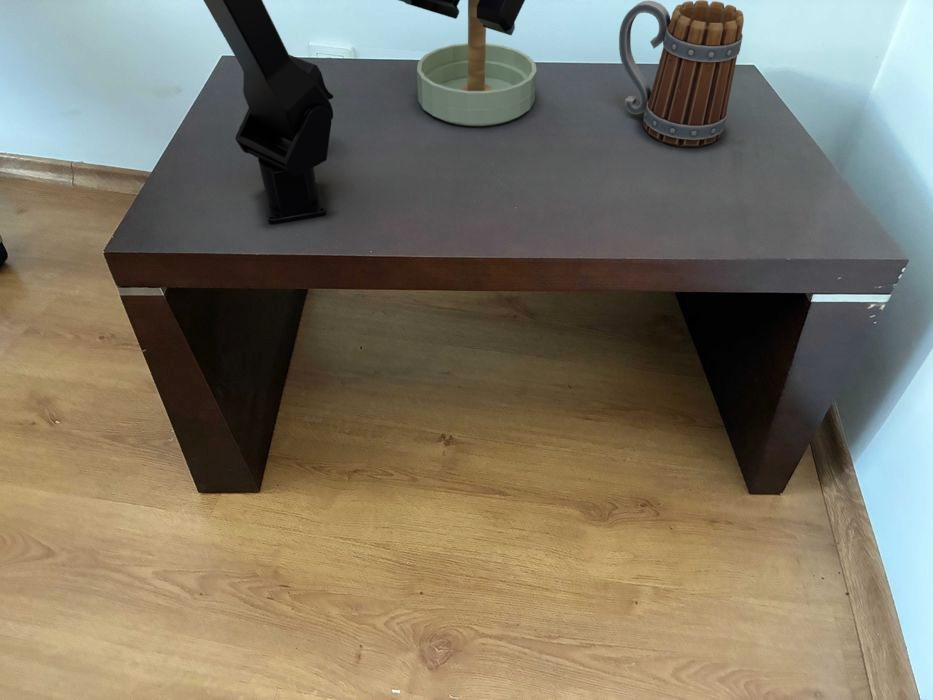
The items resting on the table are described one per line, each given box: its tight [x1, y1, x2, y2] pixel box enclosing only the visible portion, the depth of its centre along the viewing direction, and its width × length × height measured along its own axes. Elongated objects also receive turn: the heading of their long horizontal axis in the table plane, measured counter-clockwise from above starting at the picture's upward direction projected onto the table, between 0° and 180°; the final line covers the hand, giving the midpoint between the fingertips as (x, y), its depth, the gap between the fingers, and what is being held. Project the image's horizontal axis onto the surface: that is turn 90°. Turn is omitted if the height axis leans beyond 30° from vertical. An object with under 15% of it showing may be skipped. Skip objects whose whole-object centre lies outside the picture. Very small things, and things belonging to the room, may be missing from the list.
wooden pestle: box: [461, 0, 492, 91], centre depth 95 cm, size 4×4×14 cm
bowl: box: [416, 42, 537, 127], centre depth 99 cm, size 16×16×5 cm
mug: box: [618, 0, 745, 148], centre depth 90 cm, size 16×11×15 cm
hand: (484, 23), depth 94 cm, fingers open, 9 cm apart
